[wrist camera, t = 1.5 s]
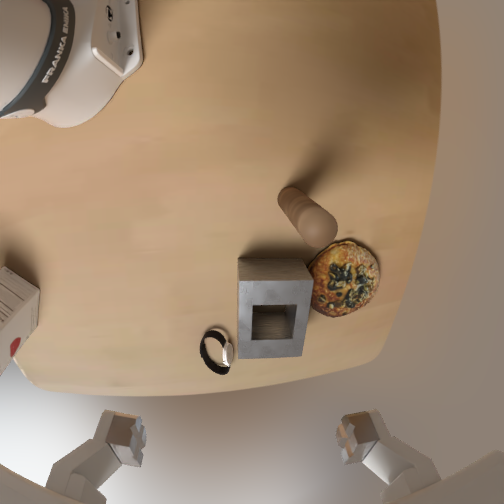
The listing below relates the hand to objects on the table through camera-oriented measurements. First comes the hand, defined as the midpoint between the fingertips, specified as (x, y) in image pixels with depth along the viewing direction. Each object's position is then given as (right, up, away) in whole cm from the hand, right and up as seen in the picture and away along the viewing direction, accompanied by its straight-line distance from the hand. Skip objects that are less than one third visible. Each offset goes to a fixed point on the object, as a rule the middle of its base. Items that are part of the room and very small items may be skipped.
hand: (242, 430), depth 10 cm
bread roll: (+13, +4, +28) cm, 31 cm away
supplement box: (-39, -1, +26) cm, 46 cm away
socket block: (+2, +1, +28) cm, 28 cm away
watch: (-5, -7, +31) cm, 32 cm away
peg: (+5, +13, +23) cm, 27 cm away
